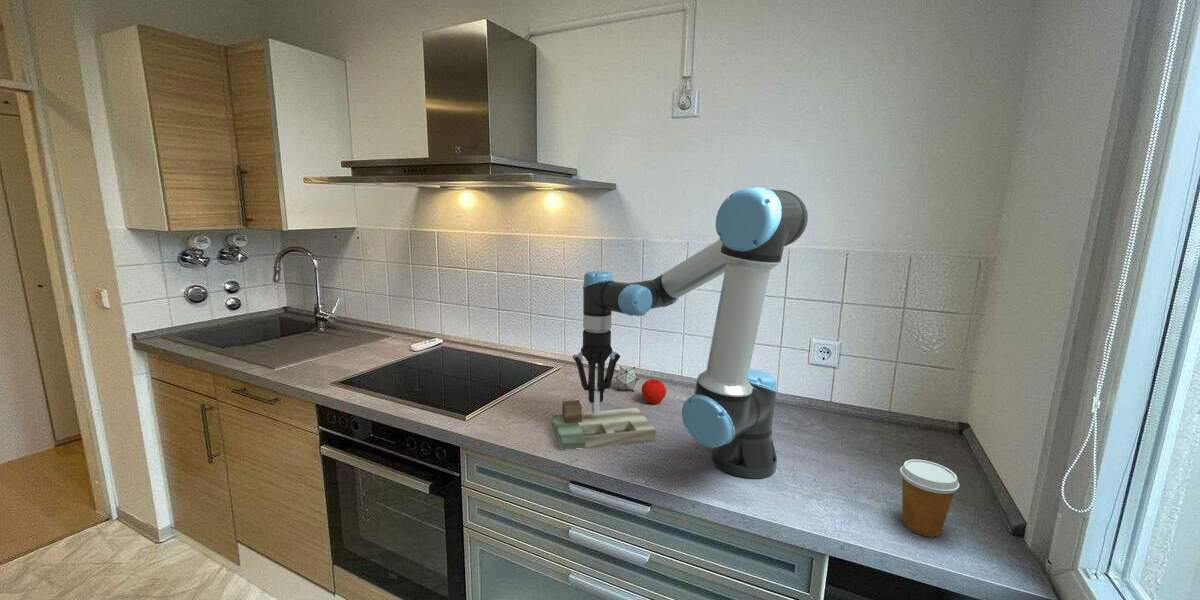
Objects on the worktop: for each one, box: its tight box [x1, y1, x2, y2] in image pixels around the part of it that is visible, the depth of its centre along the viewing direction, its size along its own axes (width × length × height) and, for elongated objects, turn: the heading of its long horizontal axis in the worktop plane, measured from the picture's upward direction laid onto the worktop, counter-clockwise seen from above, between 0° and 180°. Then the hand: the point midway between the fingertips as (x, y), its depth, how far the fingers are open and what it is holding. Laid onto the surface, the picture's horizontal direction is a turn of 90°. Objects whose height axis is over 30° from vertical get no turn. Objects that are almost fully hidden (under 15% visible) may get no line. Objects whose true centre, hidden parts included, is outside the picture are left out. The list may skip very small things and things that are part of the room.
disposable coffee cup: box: [899, 459, 960, 538], centre depth 95 cm, size 10×10×12 cm
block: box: [561, 399, 583, 424], centre depth 133 cm, size 4×4×4 cm
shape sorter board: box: [551, 407, 657, 451], centre depth 132 cm, size 15×25×3 cm, turn 105°
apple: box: [641, 378, 667, 405], centre depth 154 cm, size 8×8×7 cm
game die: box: [613, 365, 640, 393], centre depth 164 cm, size 9×8×10 cm
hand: (595, 412), depth 134 cm, fingers closed
